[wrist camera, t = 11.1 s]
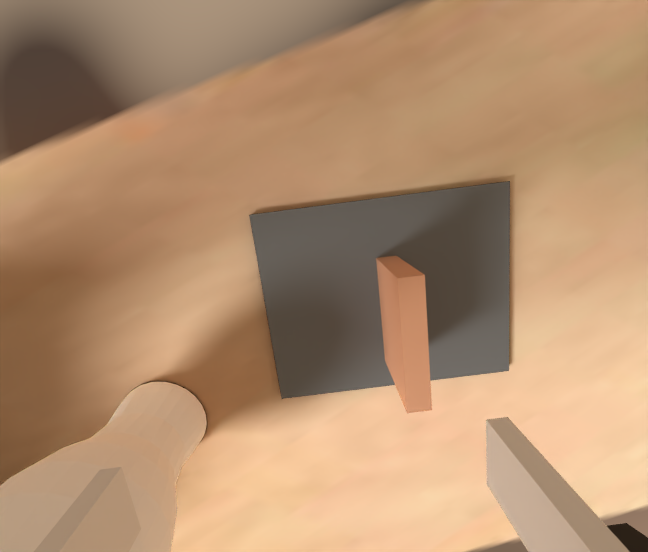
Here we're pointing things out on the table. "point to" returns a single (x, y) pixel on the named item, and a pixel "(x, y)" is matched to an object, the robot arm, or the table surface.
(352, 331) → the mat
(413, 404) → the slab
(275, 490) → the table surface
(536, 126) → the table surface
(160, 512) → the cup
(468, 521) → the table surface
